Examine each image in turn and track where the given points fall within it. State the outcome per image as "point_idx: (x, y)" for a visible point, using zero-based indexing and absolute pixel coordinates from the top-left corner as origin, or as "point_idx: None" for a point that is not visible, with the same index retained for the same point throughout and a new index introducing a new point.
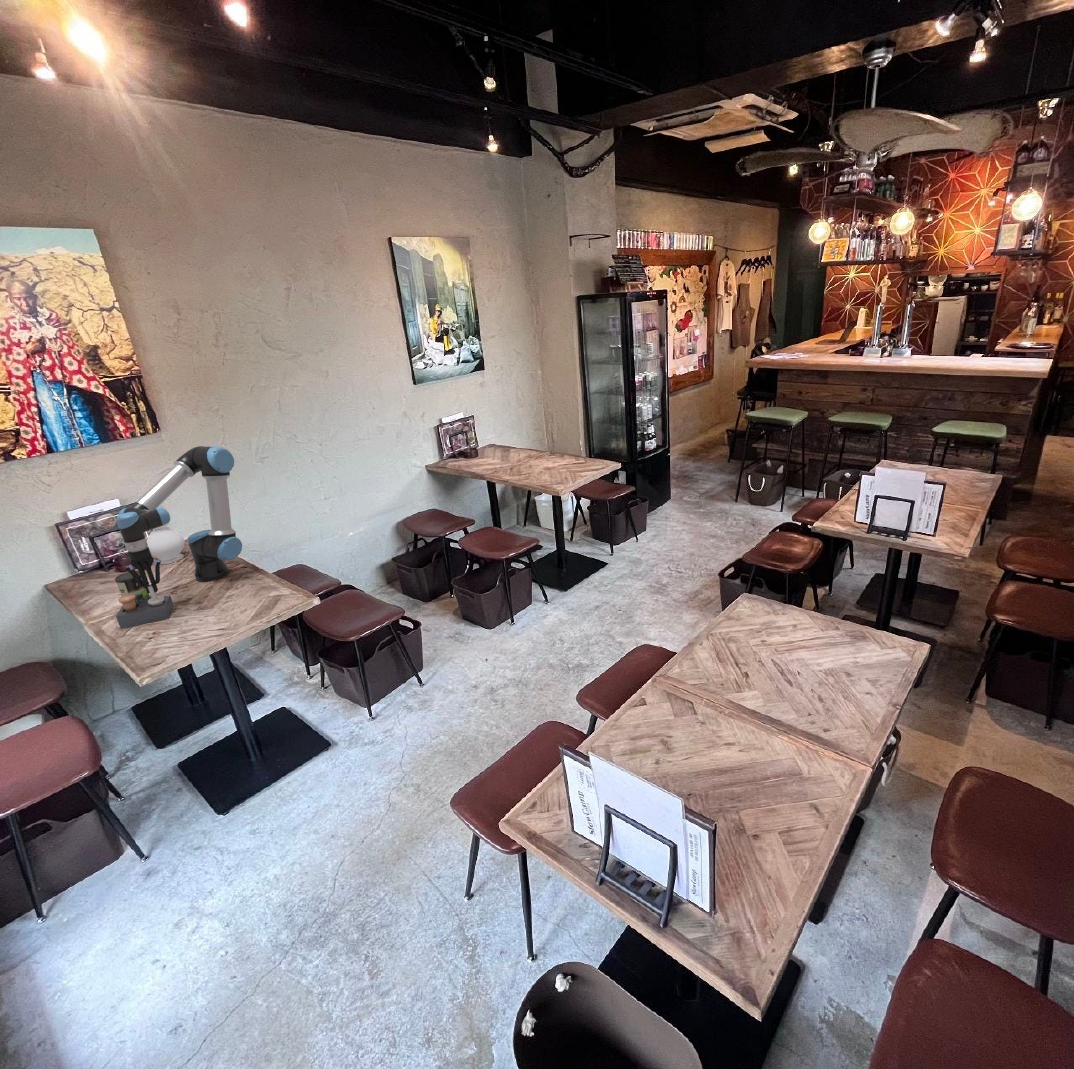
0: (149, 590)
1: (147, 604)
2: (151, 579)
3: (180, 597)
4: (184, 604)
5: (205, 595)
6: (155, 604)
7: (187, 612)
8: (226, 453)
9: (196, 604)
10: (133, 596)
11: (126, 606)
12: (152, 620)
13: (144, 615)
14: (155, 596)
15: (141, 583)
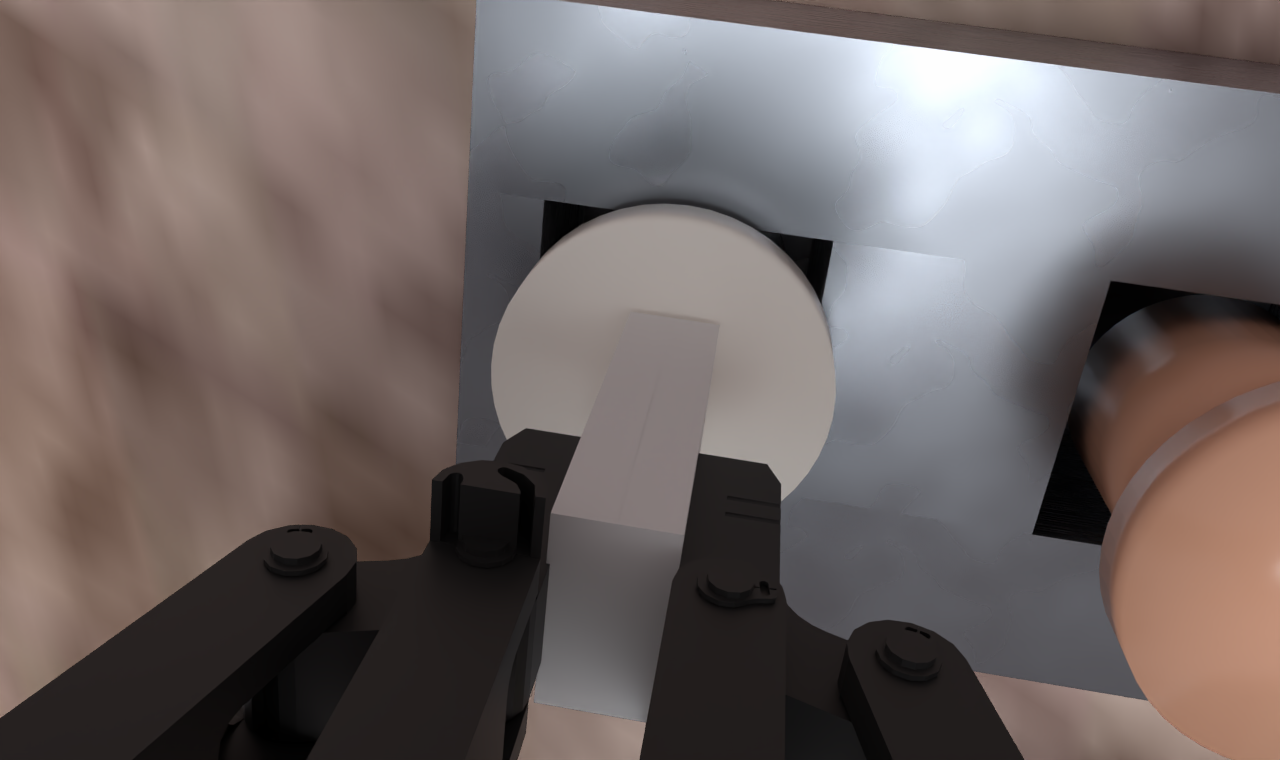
0: (685, 464)
1: (863, 387)
2: (401, 700)
3: None
4: (366, 437)
5: (109, 563)
6: (679, 205)
7: (255, 56)
8: None
9: (171, 311)
10: (1167, 532)
11: None
12: (823, 7)
13: (947, 41)
14: (616, 354)
15: (864, 719)
